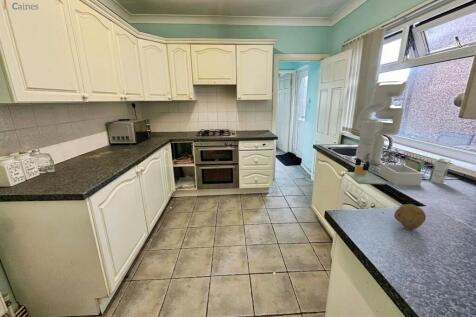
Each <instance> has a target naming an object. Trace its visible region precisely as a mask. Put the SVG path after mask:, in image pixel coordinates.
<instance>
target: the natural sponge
mask: <svg viewBox="0 0 476 317" xmlns="http://www.w3.org/2000/svg"><path fill="white" fill-rule="evenodd" d="M394 218H395V220H396V221H398V222H399V223H400V224H401V225H402V226H403V227H404V228H405V227H406V228H405V229H407V228H408V229H407V230H410V229H411V230H415V229H418V228H421V226H422V225H423V224H424V222H425V221H426V218H427V217H426V213H425V211H424V210H423V209H422V208H421V207H419V206H417V205H415V204H412V203H408V204H407V203H405V204H402V205H400V206H399V207H398V208H397V209H396V210H395V211H394Z"/></svg>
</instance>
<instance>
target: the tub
mask: <svg viewBox="0 0 476 317" xmlns="http://www.w3.org/2000/svg"><path fill="white" fill-rule="evenodd" d="M378 176H380V177H381V178H383V179H384V180H387V181H388V182H390V183H391V184H393V186H394V185H397V186H421V184H422V180H423V177H424V173H423V172H419V171H416V170H414V169H412V168H410V167H408V166H406V165H405V164H397V163H396V164H391V163H389V164H388V163H385V164H384V163H382V164H379V170H378Z"/></svg>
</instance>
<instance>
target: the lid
mask: <svg viewBox="0 0 476 317" xmlns="http://www.w3.org/2000/svg"><path fill="white" fill-rule="evenodd" d="M345 175H347V176H349V177H350V178H351V179H352V180H353V181H354V182H356V183H357V185H387V183H386V182H385V181H384V180H382V179H381V178H379V177H378V176H376V175H374V174H373V173H372V172H367V170H363V165H355V167H354V171H353V172H351V171H348V172H346V174H345Z"/></svg>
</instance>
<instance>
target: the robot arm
mask: <svg viewBox="0 0 476 317" xmlns="http://www.w3.org/2000/svg"><path fill="white" fill-rule="evenodd" d="M406 87H407V82H406V80H405V79H389V80H388V79H386V80H378V81H376V82H375V84H374V92H373V95H372V98H371V101H370V104H368V105H367V106H365V108H363V110H361V111H360V113H359V114H358V116H357V120H356V124H355V128H356V130H358V131H360V132H359V133H360V135H359V140H358V141H359V142H358V144H357V147H356V152H355V163H354V164H355V166H363V170H366V171H369V168H370V165H381V164H384V163H383V162H384V161H383V160H381V159H382V155H383V151H384V147H385V138H384V136H383V135H386V136H396V135H397V136H398V134H399V131H400V128H401V123H402V119H403V114H404V109H403V108H402V106H399V105H396V106H395V105H392V103H393V98H399V97H400V96H402V95H403V93H404V92H405V90H406ZM371 113H372V114H373V113H375V114H374V115H375V119H372V118H365V117H367V116H368V115H369V114H371ZM385 120H389V121H385ZM362 161H363V164H362Z"/></svg>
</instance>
